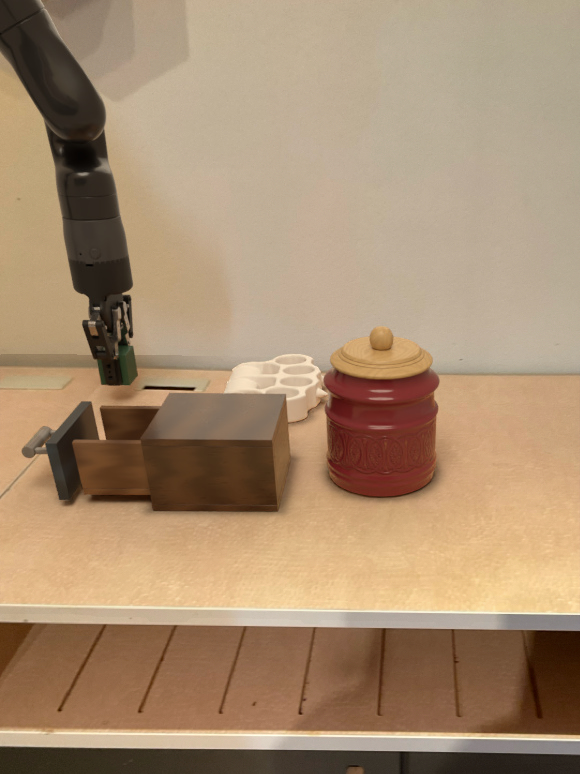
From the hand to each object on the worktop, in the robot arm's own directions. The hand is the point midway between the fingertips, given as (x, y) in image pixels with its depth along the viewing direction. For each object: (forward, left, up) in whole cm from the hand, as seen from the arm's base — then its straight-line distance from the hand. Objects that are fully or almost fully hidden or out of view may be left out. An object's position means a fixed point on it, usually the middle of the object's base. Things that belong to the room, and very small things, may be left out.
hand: (119, 378), depth 112 cm
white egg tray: (+22, 0, -3) cm, 22 cm away
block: (0, 0, 0) cm, 0 cm away
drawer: (+6, -26, -2) cm, 27 cm away
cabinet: (+19, -26, -3) cm, 32 cm away
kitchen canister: (+37, -23, -3) cm, 44 cm away
